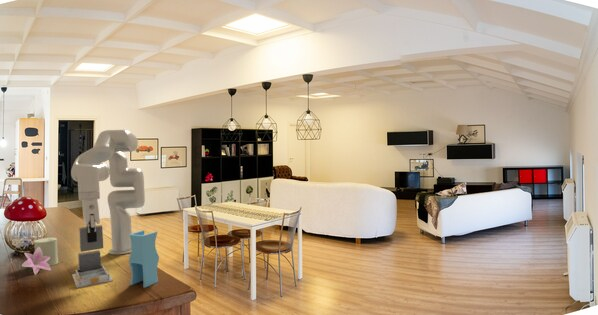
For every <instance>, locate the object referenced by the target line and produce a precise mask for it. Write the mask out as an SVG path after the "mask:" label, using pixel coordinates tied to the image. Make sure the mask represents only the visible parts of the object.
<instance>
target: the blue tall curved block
mask: <svg viewBox="0 0 598 315" xmlns="http://www.w3.org/2000/svg"><path fill="white" fill-rule="evenodd" d="M157 235H158V231H154V232H151V233H150V232H149V233H147V234H145V230H139V231H136V232H133V233H132V234H130V239H131V243H132V251H131V253H130V256H129V258H128V264H129V268H130V272H131V279H130V284H129V285H130V286H133V285H135V284H138V283H140V282H143V284H142V285H143V286H142V287H143V288H145V289H146V288H147V287H151V286H152V285H155V284H156V283H158V282H159V278H158V277H159V276H158V265H159V261H160V256H159V254H158V252H157V248H156V240H157Z"/></svg>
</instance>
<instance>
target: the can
mask: <svg viewBox="0 0 598 315" xmlns="http://www.w3.org/2000/svg"><path fill="white" fill-rule="evenodd" d="M33 243H34V252H35V251H36V249H37V248H38V247H40V248H41V250H42V253H43V256H48V257H50V259H49V260H48V261H47V263H48V264H49V266H50V267H51V266H55V265H57V264H59V256H58V254H59V253H58V238H57V237H43V238H39V239H36V240H34V241H33Z"/></svg>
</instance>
